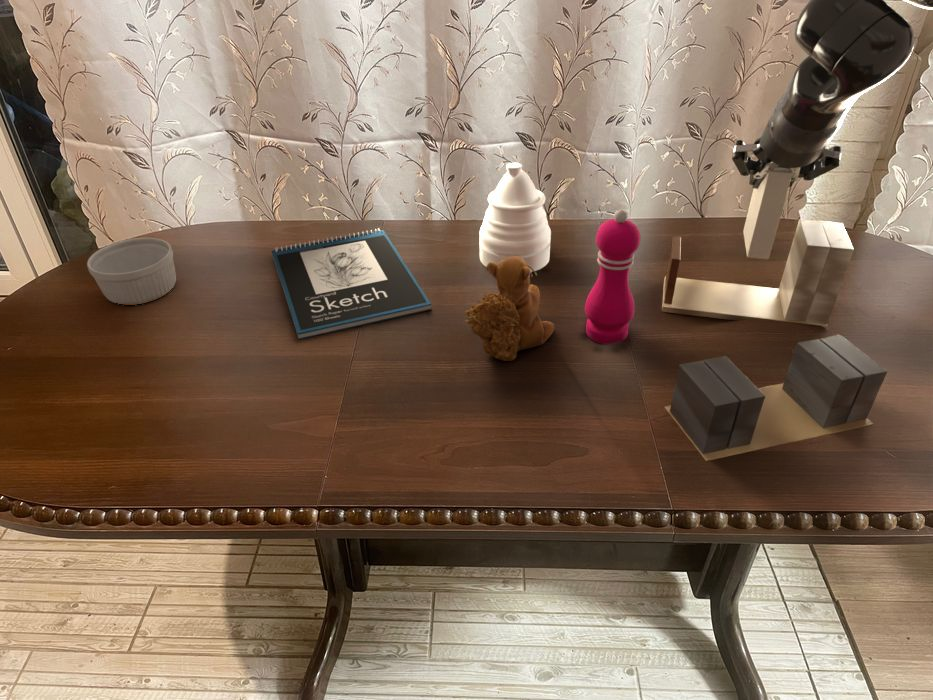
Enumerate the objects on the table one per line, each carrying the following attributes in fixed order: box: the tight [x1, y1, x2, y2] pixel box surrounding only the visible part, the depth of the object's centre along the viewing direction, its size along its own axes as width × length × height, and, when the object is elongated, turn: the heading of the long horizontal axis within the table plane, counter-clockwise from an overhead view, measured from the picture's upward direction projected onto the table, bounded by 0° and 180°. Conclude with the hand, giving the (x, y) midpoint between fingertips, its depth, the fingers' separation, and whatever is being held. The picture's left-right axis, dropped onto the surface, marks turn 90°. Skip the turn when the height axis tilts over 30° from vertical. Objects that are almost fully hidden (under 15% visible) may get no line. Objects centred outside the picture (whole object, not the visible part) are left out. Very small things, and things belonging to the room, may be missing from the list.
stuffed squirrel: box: [464, 256, 555, 362], centre depth 94 cm, size 10×14×13 cm
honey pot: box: [478, 161, 552, 273], centre depth 115 cm, size 13×13×18 cm
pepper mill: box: [584, 209, 641, 345], centre depth 94 cm, size 7×7×20 cm
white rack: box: [661, 218, 855, 330], centre depth 101 cm, size 24×10×14 cm, turn 74°
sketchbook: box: [271, 227, 433, 340], centre depth 114 cm, size 22×30×2 cm
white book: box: [742, 167, 793, 260], centre depth 95 cm, size 3×9×13 cm, turn 164°
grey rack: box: [664, 334, 888, 462], centre depth 80 cm, size 23×10×8 cm, turn 104°
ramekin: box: [86, 237, 177, 305], centre depth 111 cm, size 13×13×7 cm
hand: (768, 183), depth 95 cm, fingers closed on white book, 3 cm apart
